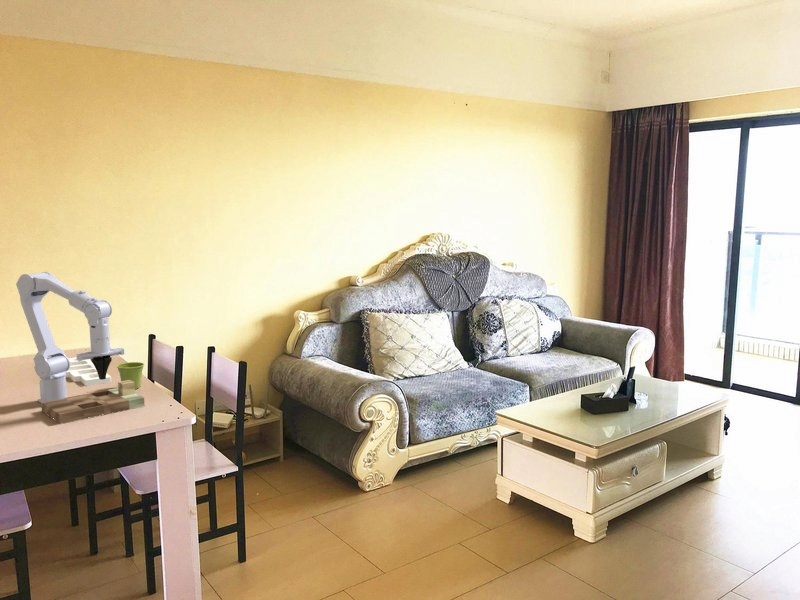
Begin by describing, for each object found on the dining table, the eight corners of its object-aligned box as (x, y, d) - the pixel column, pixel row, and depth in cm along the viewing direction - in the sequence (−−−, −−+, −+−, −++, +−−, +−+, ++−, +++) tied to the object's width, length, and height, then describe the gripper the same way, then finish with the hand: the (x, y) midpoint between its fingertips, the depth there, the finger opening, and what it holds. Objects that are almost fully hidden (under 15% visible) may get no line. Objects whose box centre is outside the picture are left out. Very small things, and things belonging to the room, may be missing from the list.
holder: (111, 383, 247) (111, 376, 247) (58, 391, 237) (58, 384, 236) (87, 362, 283) (86, 356, 283) (40, 368, 273) (39, 361, 272)
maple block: (118, 393, 221) (117, 381, 220) (130, 391, 224) (129, 379, 223) (123, 395, 218) (122, 384, 217) (135, 393, 221) (134, 382, 220)
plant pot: (137, 383, 246) (135, 360, 245) (150, 387, 240) (149, 364, 239) (113, 388, 239) (111, 365, 238) (126, 392, 233) (124, 369, 232)
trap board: (41, 411, 211) (41, 402, 211) (122, 395, 229) (122, 387, 229) (60, 423, 198) (59, 414, 198) (144, 406, 216) (144, 397, 216)
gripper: (80, 343, 205) (83, 385, 207) (127, 337, 215) (129, 377, 217) (73, 340, 210) (75, 381, 212) (118, 334, 220) (120, 373, 222)
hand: (102, 378), depth 215 cm, fingers closed
